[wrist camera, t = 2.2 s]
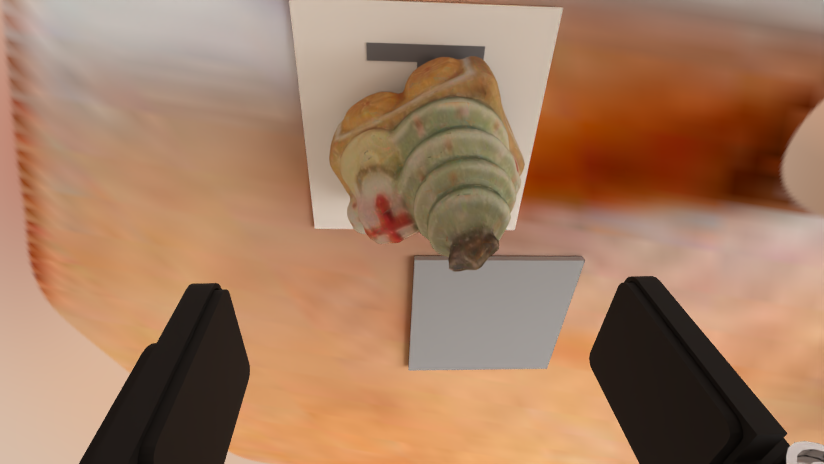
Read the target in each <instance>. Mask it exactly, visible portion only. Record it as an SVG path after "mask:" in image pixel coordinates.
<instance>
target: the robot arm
mask: <svg viewBox="0 0 824 464" xmlns="http://www.w3.org/2000/svg"><path fill="white" fill-rule="evenodd" d="M589 360H590V366H591V368H592V370H593V372H594V374H595V376H596V378H597V380H598V382H599V384H600V386H601V388H602V390H603V392H604V394H605V396H606V398H607V400H608V402H609V404H610V406H611V408H612V410H613V412H614V414H615V416H616V418H617V420H618V422H619V424H620V426H621V428H622V430H623V432H624V434H625V436H626V438H627V440H628V442H629V444H630V446H631V448H632V450H633V452H634V454H635V456H636V458H637V460H638V462H639V464H824V445H821V444H818V443H813V442H807V441H802V442H796V443H794V444H792V445H791V446H790V445H789V444H788V443H787V441H786V440H785V439H784V437H785V436H786V435H787V432H786V431H785V430H784V429H783V428H782V426H781V425H780V424H779V423H778V422H777V420H776V419H775V418H774V417H773V416H772V414H771V413H770V412H769V411H768V410H767V408H766V407H765V406H764V405H763V404H762V403H761V401H760V400H759V399H758V398H757V397H756V395H755V394H754V393H753V392H752V391H751V389H750V388H749V387H748V386H747V385H746V383H745V382H744V381H743V380H742V379H741V377H740V376H739V375H738V374H737V373H736V371H735V370H734V369H733V368H732V367H731V365H730V364H729V363H728V362H727V361H726V359H725V358H724V357H723V356H722V355H721V353H720V352H719V351H718V350H717V349H716V347H715V346H714V345H713V344H712V343H711V342H710V340H709V339H708V338H707V337H706V336H705V334H704V333H703V332H702V331H701V330H700V328H699V327H698V326H697V325H696V324H695V322H694V321H693V320H692V319H691V318H690V316H689V315H688V314H687V313H686V312H685V310H684V309H683V308H682V307H681V306H680V304H679V303H678V302H677V301H676V300H675V298H674V297H673V296H672V295H671V294H670V292H669V291H668V290H667V289H666V288H665V286H664V285H663V284H662V283H661V282H660V281H659V280H658V279H657V278H656V277H653V276H640V277H628V278H627V279H626V280H625V282H624V283H621V284H620V285H619V286H618V288H617V291H616V293H615V296H614V298H613V300H612V303H611V305H610V307H609V310H608V312H607V314H606V317H605V319H604V322H603V324H602V326H601V329H600V331H599V333H598V336H597V338H596V341H595V343H594V345H593V348H592V350H591V352H590V357H589ZM249 375H250V365H249V361H248V357H247V354H246V350H245V347H244V343H243V340H242V336H241V333H240V329H239V325H238V322H237V318H236V315H235V311H234V308H233V304H232V300H231V297H230V294H229V291H228V290H222V289H221V286H220V285H219V284H217V283H209V284H191V285H189V286H188V288H187V289H186V291H185V293H184V294H183V296H182V298H181V300H180V302H179V304H178V305H177V307H176V309H175V311H174V313H173V314H172V316H171V318H170V320H169V322H168V324H167V325H166V327H165V329H164V331H163V333H162V334H161V336H160V338H159V340H158V342H157V343H154V344H150V345H149V346H148V347H146V349H145V350H144V351H143V353H142V354H141V356H140V358H139V359H138V361H137V363H136V365H135V366H134V368H133V370H132V372H131V373H130V375H129V377H128V379H127V381H126V382H125V384H124V386H123V387H122V390H121V391H120V393H119V394H118V396H117V398H116V400H115V401H114V403H113V405H112V407H111V408H110V410H109V412H108V414H107V416H106V417H105V419H104V421H103V422H102V424H101V426H100V428H99V429H98V431H97V433H96V435H95V436H94V438H93V440H92V442H91V443H90V445H89V447H88V449H87V450H86V452H85V454H84V456H83V457H82V459H81V461H80V463H79V464H224V462H225V459H226V455H227V452H228V448H229V445H230V442H231V438H232V435H233V431H234V428H235V425H236V421H237V418H238V414H239V411H240V407H241V404H242V401H243V397H244V394H245V390H246V387H247V384H248V380H249Z"/></svg>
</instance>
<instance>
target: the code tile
mask: <svg viewBox="0 0 824 464" xmlns="http://www.w3.org/2000/svg"><path fill="white" fill-rule="evenodd" d="M289 5H290V14H291V23H292V32H293V41H294V50H295V58H296V67H297V76H298V85H299V94H300V102H301V111H302V120H303V129H304V138H305V146H306V155H307V164H308V173H309V182H310V190H311V199H312V208H313V217H314V226H315V229H354V228H353V227H352V225H351V223H350V221H349V219H348V216H347V208H348V205H349V202H350V196H349V195H348V193H347V192H346V190H345V188H344V187H343V185H342V184H341V182H340V180H339V179H338V177H337V176H336V174H335V173H334V171H333V170H332V168H331V166H330V161H329V155H330V147H331V142H332V139H333V136H334V133H335V131H336V129H337V127H338V125H339V124H340V123H341V122H342V120H343V119H344V117H345V115H346V113H347V111H348V110H349V109H350V108H351V107H352V106H353V105H354V104H356V103H357V102H359V101H360V100H362V99H363V98H365V97H367V96H369V95H372V94H375V93H378V92H393V93H398V94H399V93H402V92H403V91H404V89H405V84H406V82H407V80H408V78H409V76H410V75H411V74H412V72H413V71H415V70H416V69H417V68H418V67H419V66H421V65H423V64H425V63H426V62H428V61H430V60H433V59H436V58H439V57H450V58H454V59H464V58H466V57H469V56H477V57H479V58H481V59H483V60H484V61H485V62H486V63H487V65H488V66H489V67H490V69H491V71H492V72H493V74H494V76H495V78H496V81H497V83H498V87H499V92H500V96H501V103H502V106H503V109H504V112H505V114H506V117H507V119H508V122H509V124H510V127H511V129H512V132H513V135H514V137H515V140H516V142H517V144H518V146H519V149H520V151H521V153H522V155H523V158H524V163H525V166H524V170H523V172H522V174H521V175H520V179H521V187H520V189H519V191H518V193H517V195H516V202H515V205H514V208H513V209H512V211H511V213H510V215H511V219H510V222H509V224H508V226H507V228H506V230H515V227H516V222H517V217H518V213H519V208H520V204H521V199H522V194H523V190H524V185H525V181H526V176H527V172H528V167H529V162H530V158H531V153H532V149H533V144H534V139H535V135H536V130H537V126H538V121H539V116H540V112H541V107H542V103H543V98H544V93H545V89H546V84H547V80H548V75H549V71H550V66H551V61H552V57H553V52H554V48H555V43H556V38H557V34H558V29H559V25H560V20H561V15H562V11H563V8H562V7H544V6H518V5H492V4H467V3H441V2H415V1H389V0H289Z"/></svg>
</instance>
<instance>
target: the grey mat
mask: <svg viewBox="0 0 824 464" xmlns="http://www.w3.org/2000/svg"><path fill="white" fill-rule="evenodd" d="M448 258H449V257H447V256H414V274H413V292H412V311H411V330H410V348H409V370H479V369H547V367H548V364H549V361H550V358H551V356H552V353H553V350H554V347H555V344H556V341H557V339H558V336H559V333H560V330H561V327H562V324H563V322H564V319H565V316H566V313H567V310H568V307H569V305H570V302H571V299H572V296H573V293H574V290H575V287H576V285H577V282H578V279H579V276H580V273H581V270H582V268H583V265H584V262H585V260H584V258H583V257H582V256H490V257H489V258H488V259H487V260H486V262H485V263H484V264H483V266H482V267H481V268H479V269H477V270H463V271H459V272H454V271H452V270H450V269H449V261H448Z"/></svg>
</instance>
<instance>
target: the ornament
mask: <svg viewBox="0 0 824 464" xmlns="http://www.w3.org/2000/svg"><path fill="white" fill-rule="evenodd" d="M329 161H330V166H331V168H332V170H333V171H334V173H335V174H336V176H337V177H338V179H339V180H340V182H341V184H342V185H343V187H344V188H345V190H346V192H347V193H348V195H349V196H350V202H349V205H348V208H347V216H348V219H349V221H350V223H351V225H352V227H353V228H354V229H355V230H356V231H357V232H359V233H361V234H367V235H368V236H369V237H370V238H371V239H372V240H373V241H375V242H377V243H379V244H387V243H399V242H401V241H402V240H404V239H406V238H408V237H410V236H412V235H414V234H416V233H418V232H420V233H421V234H422V235H423V236H424V237H426V238H427V239H428V240H430V243H431V245H432V248H433V249H434V250H435V251H436V252H437V253H439V254H441V255H443V256H447V257H449V258H448V261H449V269H450V270H452V271H454V272H459V271H463V270H477V269H479V268H481V267H482V266H483V264H484V263H485V262H486V260H487V259H488V258H489V257H490V256H491V255H492V254H494V253H495V252H496V251H497V250H498V249H499V240H500V239H501V237H502V235H503V233H504V231H505V230H506V228H507V226H508V224H509V222H510V219H511V215H510V213H511V211H512V209H513V208H514V205H515V202H516V195H517V193H518V191H519V189H520V187H521V179H520V175H521V174H522V172H523V170H524V166H525V163H524V158H523V155H522V153H521V151H520V149H519V146H518V144H517V142H516V140H515V137H514V135H513V132H512V129H511V127H510V124H509V122H508V119H507V117H506V114H505V112H504V109H503V106H502V103H501V96H500V92H499V87H498V83H497V81H496V78H495V76H494V74H493V72H492V71H491V69H490V67H489V66H488V65H487V63H486V62H485V61H484V60H483V59H481V58H479V57H477V56H469V57H466V58H464V59H454V58H450V57H439V58H436V59H433V60H430V61H428V62H426V63H425V64H423V65H421V66H419V67H418V68H417V69H416V70H415V71H413V72H412V74H411V75H410V76H409V78H408V80H407V82H406V84H405V89H404V91H403V92H402V93H399V94H398V93H393V92H378V93H375V94H372V95H369V96H367V97H365V98H363V99H362V100H360V101H359V102H357V103H356V104H354V105H353V106H352V107H351V108H350V109H349V110H348V111H347V113H346V115H345V117H344V119H343V120H342V122H341V123H340V124H339V125H338V127H337V129H336V131H335V133H334V136H333V139H332V142H331V147H330V155H329Z"/></svg>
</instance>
